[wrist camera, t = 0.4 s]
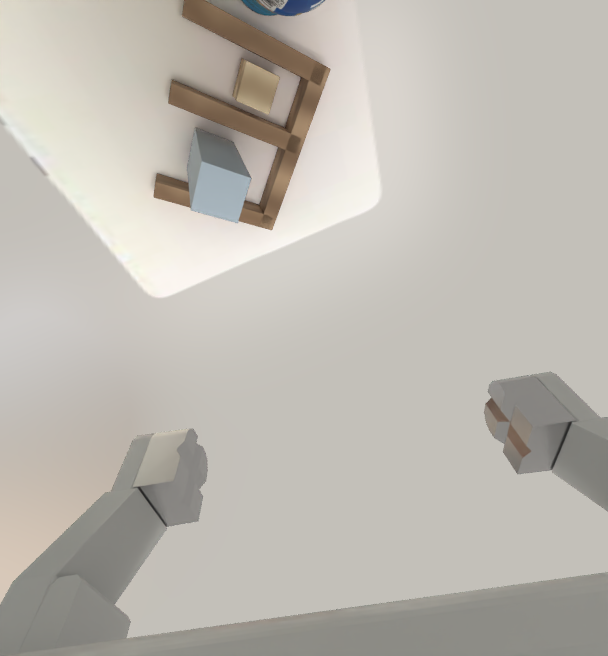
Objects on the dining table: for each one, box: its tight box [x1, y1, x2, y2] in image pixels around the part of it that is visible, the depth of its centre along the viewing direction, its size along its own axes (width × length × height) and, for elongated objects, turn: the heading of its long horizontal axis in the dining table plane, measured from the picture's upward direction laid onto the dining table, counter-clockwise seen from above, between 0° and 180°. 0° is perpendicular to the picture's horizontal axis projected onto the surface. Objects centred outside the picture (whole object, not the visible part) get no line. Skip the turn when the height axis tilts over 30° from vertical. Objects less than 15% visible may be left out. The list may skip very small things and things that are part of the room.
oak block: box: [233, 59, 280, 115], centre depth 42 cm, size 4×4×4 cm
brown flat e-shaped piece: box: [154, 0, 330, 230], centre depth 44 cm, size 21×16×4 cm
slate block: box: [187, 128, 251, 223], centre depth 41 cm, size 5×5×15 cm
